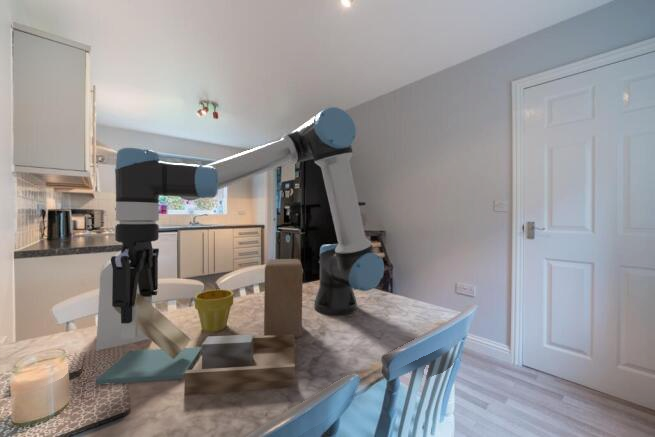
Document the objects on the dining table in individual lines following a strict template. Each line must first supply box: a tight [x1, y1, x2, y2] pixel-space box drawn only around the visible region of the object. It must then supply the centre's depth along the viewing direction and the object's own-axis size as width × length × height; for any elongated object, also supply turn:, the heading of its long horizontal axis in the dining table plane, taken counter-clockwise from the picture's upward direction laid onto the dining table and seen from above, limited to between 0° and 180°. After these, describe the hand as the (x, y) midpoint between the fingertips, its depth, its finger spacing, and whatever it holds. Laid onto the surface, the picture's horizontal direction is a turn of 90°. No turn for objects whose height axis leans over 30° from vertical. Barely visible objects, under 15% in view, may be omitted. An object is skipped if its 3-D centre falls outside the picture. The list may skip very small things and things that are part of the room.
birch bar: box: [114, 292, 192, 359], centre depth 58 cm, size 16×5×2 cm
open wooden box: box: [183, 334, 296, 396], centre depth 57 cm, size 20×14×7 cm
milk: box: [95, 250, 150, 352], centre depth 72 cm, size 12×12×26 cm
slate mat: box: [94, 346, 202, 386], centre depth 58 cm, size 16×11×1 cm
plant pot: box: [194, 288, 234, 333], centre depth 78 cm, size 10×10×10 cm
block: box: [263, 258, 304, 339], centre depth 76 cm, size 10×10×20 cm
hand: (137, 331), depth 57 cm, fingers closed on birch bar, 5 cm apart
